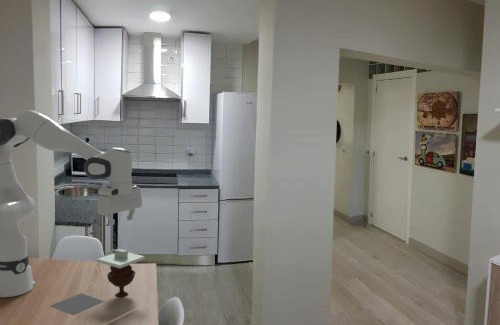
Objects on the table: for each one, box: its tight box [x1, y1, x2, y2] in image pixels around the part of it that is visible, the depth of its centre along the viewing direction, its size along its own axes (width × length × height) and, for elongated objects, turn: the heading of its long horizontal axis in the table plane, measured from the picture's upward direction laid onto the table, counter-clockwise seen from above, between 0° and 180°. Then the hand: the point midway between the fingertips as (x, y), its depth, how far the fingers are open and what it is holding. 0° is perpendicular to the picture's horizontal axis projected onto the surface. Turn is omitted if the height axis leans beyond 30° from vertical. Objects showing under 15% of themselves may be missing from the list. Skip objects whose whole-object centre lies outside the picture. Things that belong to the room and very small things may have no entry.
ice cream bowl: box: [106, 264, 136, 298], centre depth 170 cm, size 11×11×15 cm
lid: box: [96, 248, 145, 268], centre depth 169 cm, size 13×13×4 cm
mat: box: [50, 293, 105, 316], centre depth 162 cm, size 14×14×1 cm
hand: (121, 222), depth 168 cm, fingers open, 8 cm apart
